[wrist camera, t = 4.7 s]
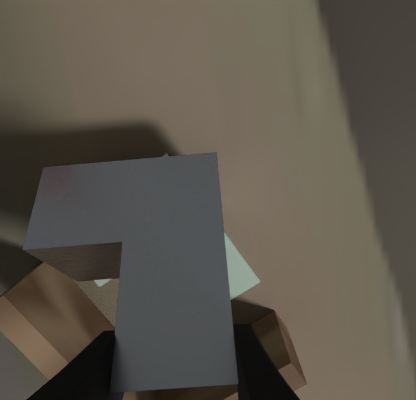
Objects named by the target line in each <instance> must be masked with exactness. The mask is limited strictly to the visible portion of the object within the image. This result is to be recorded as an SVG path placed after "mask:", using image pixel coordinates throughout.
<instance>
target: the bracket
mask: <svg viewBox="0 0 416 400" xmlns="http://www.w3.org/2000/svg"><path fill="white" fill-rule="evenodd" d="M22 250H24V251H25V252H27V253H29V254H31V255H32V256H34V257H36V258H38V259H39V260H41V261H43V262H45V263H46V264H48V265H50V266H52V267H53V268H55V269H57V270H59V271H60V272H62V273H64V274H66V275H68V276H69V277H71V278H73V279H75V280H76V281H89V280H102V279H115V278H119V289H118V301H117V313H116V325H115V335H116V336H115V345H114V354H113V363H112V372H111V384H110V393H115V392H130V391H144V390H159V389H173V388H188V387H202V386H217V385H231V384H238V374H237V363H236V353H235V342H234V332H233V321H232V310H231V300H230V289H229V279H228V268H227V258H226V247H225V237H224V226H223V216H222V205H221V194H220V184H219V173H218V163H217V152H214V153H202V154H191V155H179V156H168V157H156V158H144V159H133V160H121V161H110V162H98V163H87V164H75V165H63V166H52V167H43V171H42V175H41V179H40V183H39V186H38V190H37V194H36V198H35V202H34V206H33V210H32V214H31V218H30V222H29V226H28V229H27V233H26V237H25V241H24V245H23V249H22Z"/></svg>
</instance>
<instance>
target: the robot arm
mask: <svg viewBox="0 0 416 400" xmlns="http://www.w3.org/2000/svg"><path fill="white" fill-rule="evenodd" d="M233 327H234V342H235V353H236V363H237V374H238V384H237V390H238V400H300V399H299V398H298V396H297V395H296V394H295V393H294V391H293V390H292V389H291V387H290V386H289V385H288V383H287V382H286V381H285V379H284V378H283V376H282V375H281V374H280V372H279V371H278V369H277V368H276V366H275V365H274V363H273V362H272V360H271V359H270V357H269V355H268V354H267V352H266V350H265V349H264V347H263V345H262V343H261V341H260V340H259V338H258V336H257V334H256V331H255V329H254V327H253V326H252V325H251V324H242V325H233ZM115 336H116V335H115V330H109V331H103V332H102V333H101V334H99V335H98V336H97V337H96V338H95V339H94V340H93V341H92V342H91V343H90V344H89V345H88V346H86V347H85V348H84V349H83V350H82V351H81V352H80V353H79V354H78V355H77V356H76V357H75V358H74V359H73V360H72V361H70V362H69V363H68V364H67V365H66V366H65V367H64V368H63V369H62V370H61V371H60V372H58V373H57V374H56V375H55V376H54V377H53V378H52V379H50V380H49V381H48V382H47V383H46V384H45V385H43V386H42V387H41V388H40V389H39V390H38V391H36V392H35V393H34V394H33V395H32V396H30V397H29V398H28V399H27V400H123V396H124V392H115V393H110V384H111V372H112V363H113V354H114V345H115Z"/></svg>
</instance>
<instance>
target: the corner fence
mask: <svg viewBox="0 0 416 400" xmlns="http://www.w3.org/2000/svg"><path fill="white" fill-rule="evenodd" d="M251 325H252V326H253V327H254V329H255V331H256V334H257V336H258V338H259V340H260V341H261V343H262V345H263V347H264V349H265V350H266V352H267V354H268V355H269V357H270V359H271V360H272V362H273V363H274V365H275V366H276V368H277V369H278V371H279V372H280V374H281V375H282V376H283V378H284V379H285V381H286V382H287V383H288V385H289V386H290V387H291V389H292V390H293V391H294V390H296V389H298V388H300V387H302V386H304V385H306V384H307V383H306V380H305V377H304V374H303V371H302V369H301V366H300V363H299V360H298V357H297V354H296V352H295V349H294V346H293V343H292V340H291V338H290V335H289V332H288V329H287V327H286V326H285V324H284V323H283V322H282V320H281V319H280V318H279V316H278V315H277V313H276V312H275V311H273V312H271V313H269V314H267V315H266V316H264V317H262V318H261V319H259V320H257V321H255V322H254V323H252V324H251ZM109 330H115V328H114V327H113V325H112V324H111V323H110V322H109V321H108V320H107V319H106V318H105V316H104V315H103V314H102V313H101V312H100V311H99V310H98V309H97V307H96V306H95V305H94V304H93V303H92V302H91V301H90V300H89V298H88V297H87V296H86V295H85V294H84V293H83V292H82V291H81V289H80V288H79V287H78V286H77V285H76V284H75V283H74V282H73V280H72V279H71V278H70V277H69V276H68V275H66V274H64V273H62V272H60V271H59V270H57V269H55V268H53V267H52V266H50V265H48V264H46V263H45V262H43V263H41V264H40V265H39V266H37V267H36V268H34V269H33V270H32V271H31V272H29V273H28V274H27V275H26V276H24V277H23V278H22V279H21V280H19V281H18V282H17V283H16V284H14V285H13V286H12V287H11V288H9V289H8V290H7V291H6V292H4V293H3V294H2V295H1V296H0V331H1V332H2V333H3V334H4V335H5V336H6V337H7V338H8V339H9V340H10V341H11V342H12V343H13V344H14V345H15V346H16V347H17V348H18V349H19V350H20V351H21V352H22V353H23V354H24V355H25V356H26V357H27V358H28V359H29V360H30V361H31V362H32V363H33V364H34V365H35V366H36V367H37V368H38V369H39V370H40V371H41V372H42V373H43V374H44V375H45V376H46V377H47V378H48V379H49V380H50V379H52V378H53V377H54V376H55V375H56V374H57V373H58V372H60V371H61V370H62V369H63V368H64V367H65V366H66V365H67V364H68V363H69V362H70V361H72V360H73V359H74V358H75V357H76V356H77V355H78V354H79V353H80V352H81V351H82V350H83V349H84V348H85V347H86V346H88V345H89V344H90V343H91V342H92V341H93V340H94V339H95V338H96V337H97V336H98V335H99V334H101V333H102V332H103V331H109ZM123 400H238V390H237V384H231V385H217V386H202V387H188V388H173V389H159V390H144V391H130V392H124V396H123Z"/></svg>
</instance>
